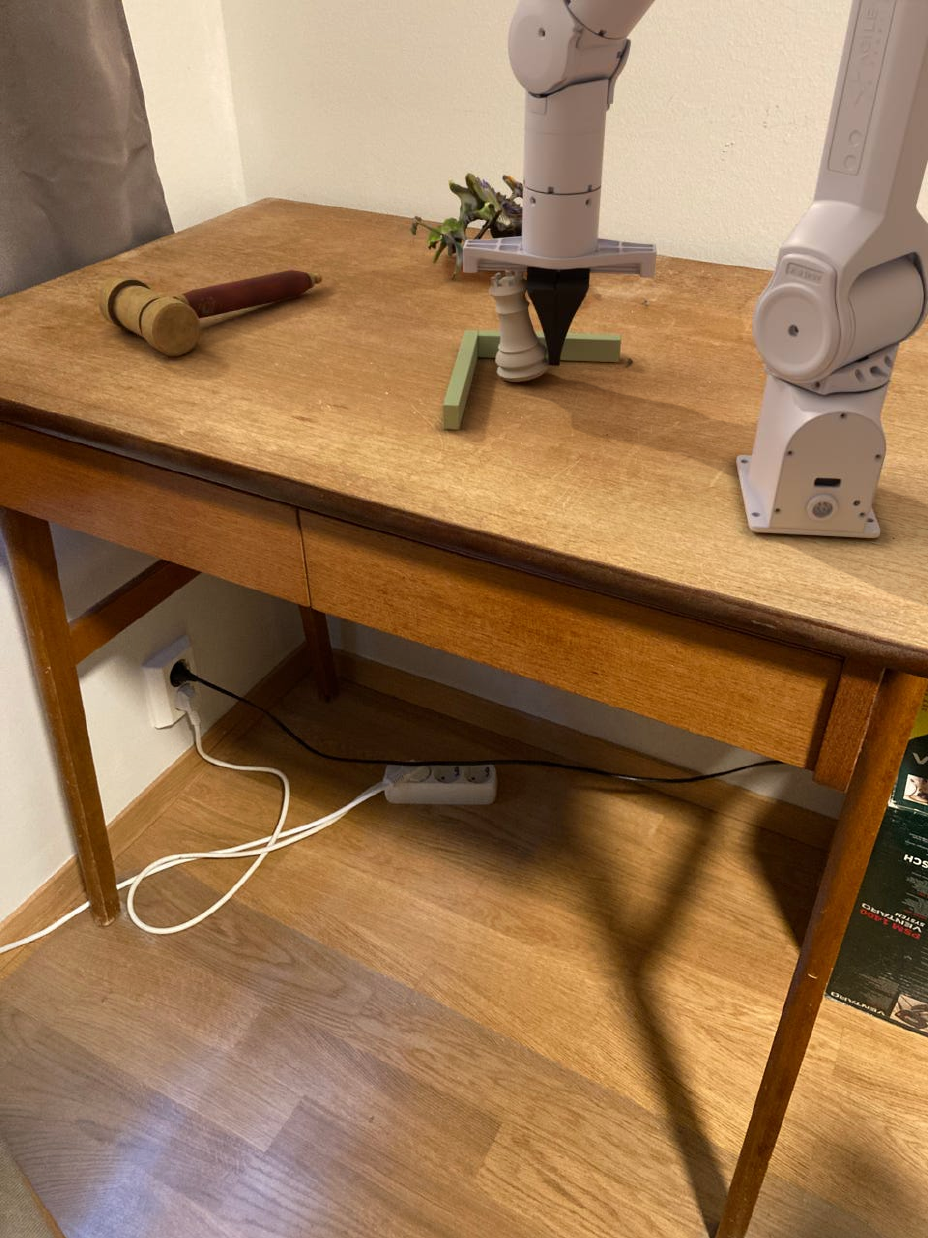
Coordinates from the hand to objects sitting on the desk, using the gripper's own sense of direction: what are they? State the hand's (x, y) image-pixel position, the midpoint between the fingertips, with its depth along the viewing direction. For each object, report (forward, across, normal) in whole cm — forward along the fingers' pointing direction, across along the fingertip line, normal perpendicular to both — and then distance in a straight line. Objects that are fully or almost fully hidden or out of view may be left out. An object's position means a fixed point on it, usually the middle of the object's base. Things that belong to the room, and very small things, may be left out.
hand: (554, 360), depth 81 cm
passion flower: (+2, +9, -25) cm, 26 cm away
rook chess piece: (+1, +2, 0) cm, 3 cm away
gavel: (+2, +31, -11) cm, 33 cm away
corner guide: (+1, +1, +3) cm, 3 cm away
